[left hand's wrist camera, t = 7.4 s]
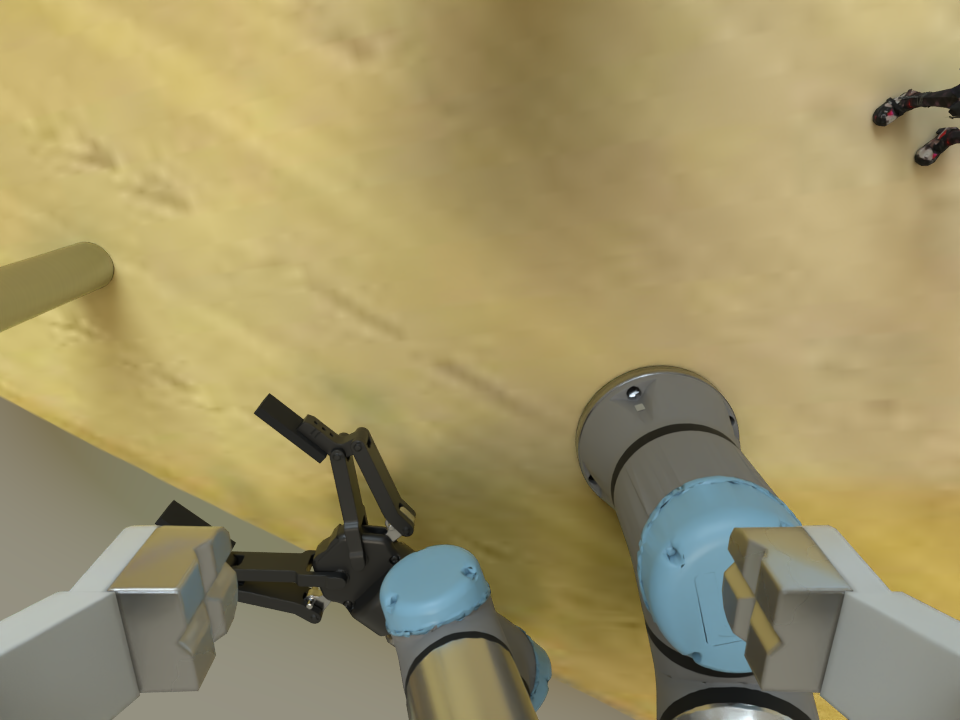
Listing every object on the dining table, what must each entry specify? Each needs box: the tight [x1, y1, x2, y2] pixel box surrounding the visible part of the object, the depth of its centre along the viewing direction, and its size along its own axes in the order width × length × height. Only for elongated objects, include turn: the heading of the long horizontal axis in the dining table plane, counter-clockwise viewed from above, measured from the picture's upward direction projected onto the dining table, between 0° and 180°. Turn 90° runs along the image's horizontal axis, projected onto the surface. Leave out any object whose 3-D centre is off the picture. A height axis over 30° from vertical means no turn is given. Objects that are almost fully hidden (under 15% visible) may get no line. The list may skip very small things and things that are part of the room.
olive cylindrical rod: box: [0, 242, 114, 332], centre depth 48 cm, size 4×4×19 cm
